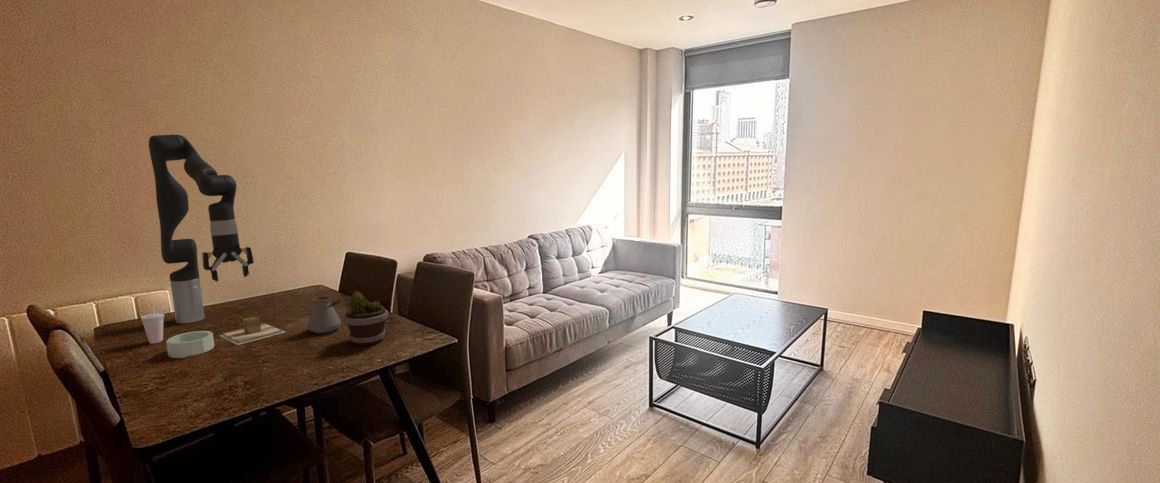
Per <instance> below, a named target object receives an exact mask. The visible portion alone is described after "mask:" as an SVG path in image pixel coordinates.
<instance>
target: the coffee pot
mask: <svg viewBox="0 0 1160 483" xmlns="http://www.w3.org/2000/svg"><path fill="white" fill-rule="evenodd" d="M331 300H332V297H331V296H328V295H327V296H326V295H325V296H317V297H314V298H312V302H313V304H314V306H313V309H312V312H311V313H310V316H309V319H308V322H307V325H306V328H307V329H308V331H310V332H312V333H315V334H330V333H333V332H334V331H335V330H337V329H338V328H339V327H340V325H341V324H342V323H341V322H342V320H341V319H340V317H339V315H338V314H337V312H336V310H335V309H334V307H333V306H337V307H341V306H342V305H343V303H344V302H343V301H342V300H339V299H338V300H335V301H333V302H332V303H331ZM340 302H341V304H340V305H339V303H340Z"/></svg>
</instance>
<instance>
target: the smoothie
mask: <svg viewBox="0 0 1160 483" xmlns="http://www.w3.org/2000/svg"><path fill="white" fill-rule="evenodd" d="M150 306H151V313H149V314H144V315H142V316H141V317H140V321H142V324H143V327H144V331H145V334H146V337H147V339H148V343H149V344H152V345H153V344H158V343H161V342H163V340H164V318H165V314H164V312H163V313H161V312H158V313H157V312H156V313H155V307H154V303H151V304H150Z"/></svg>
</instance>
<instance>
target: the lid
mask: <svg viewBox="0 0 1160 483" xmlns="http://www.w3.org/2000/svg"><path fill="white" fill-rule="evenodd" d="M242 321H243V322H242V324H243V328H239V329H236V330H232V331H227V332H224V333H223V334H222V335H224V336H226V337H228V338H230V339H232V340H234V341H236V342H238V343H243V342H247V341H251V340H255V339H258V338H262V337H266V336H270V335H273V334H277V333H281V332H282V331H283V330H282V329H279V328H277V327H275V326H273V325H269V324H268V323H265V322H264V323H261V318H260V317H257V316H251V317H247V318H246V317H245V318H243V319H242ZM281 334H282V333H281ZM277 335H278V334H277ZM273 336H274V335H273ZM270 337H271V336H270ZM266 338H267V337H266ZM262 339H263V338H262ZM258 340H259V339H258ZM255 341H256V340H255ZM251 342H252V341H251ZM247 343H248V342H247ZM243 344H244V343H243Z"/></svg>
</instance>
